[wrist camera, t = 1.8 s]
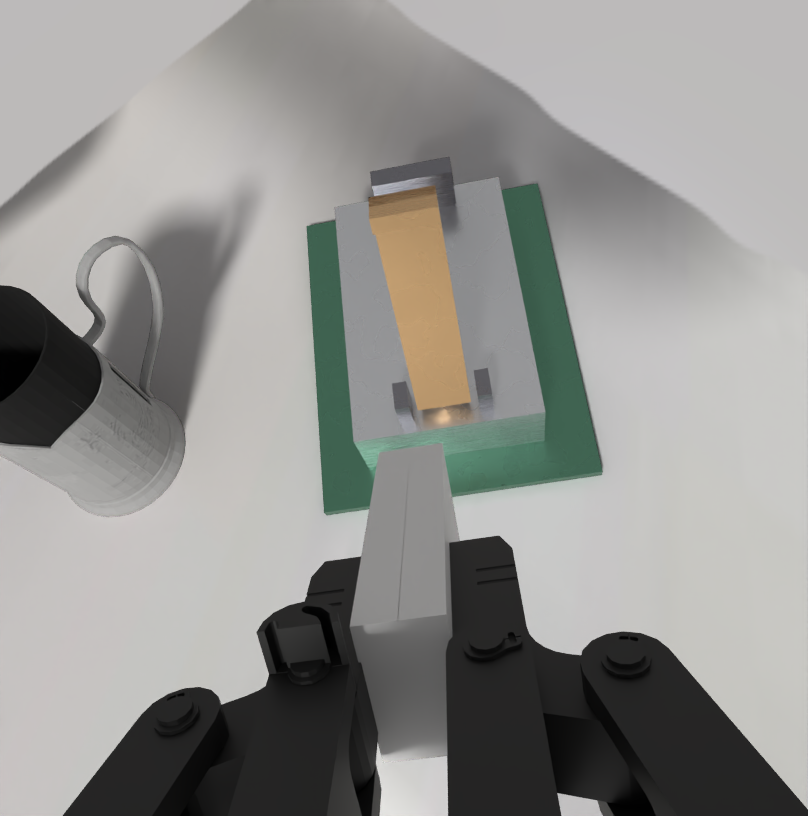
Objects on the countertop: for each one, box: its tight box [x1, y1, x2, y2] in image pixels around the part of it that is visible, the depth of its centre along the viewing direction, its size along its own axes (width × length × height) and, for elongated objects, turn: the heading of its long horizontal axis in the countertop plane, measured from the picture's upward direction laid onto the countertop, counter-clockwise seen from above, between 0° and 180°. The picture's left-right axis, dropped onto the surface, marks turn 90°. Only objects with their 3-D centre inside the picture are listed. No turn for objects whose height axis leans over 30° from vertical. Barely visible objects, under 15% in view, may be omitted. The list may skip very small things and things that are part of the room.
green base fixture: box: [307, 157, 602, 515], centre depth 48 cm, size 22×17×8 cm
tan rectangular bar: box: [369, 185, 471, 411], centre depth 38 cm, size 14×3×2 cm
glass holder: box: [0, 236, 185, 517], centre depth 45 cm, size 9×14×15 cm, turn 145°
